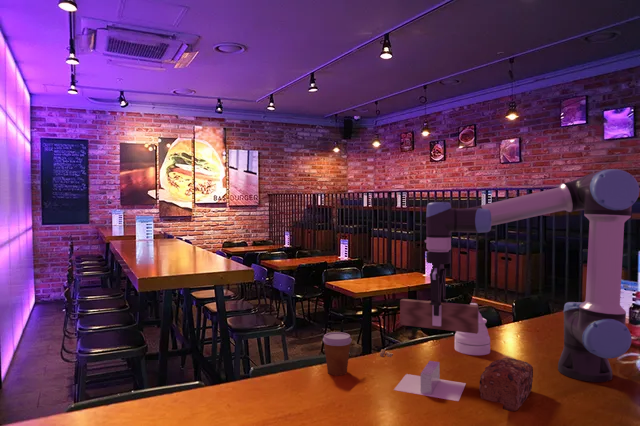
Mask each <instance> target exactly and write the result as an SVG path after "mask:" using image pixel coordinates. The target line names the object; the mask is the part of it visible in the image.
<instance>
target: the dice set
mask: <svg viewBox="0 0 640 426" xmlns="http://www.w3.org/2000/svg"><path fill="white" fill-rule="evenodd" d="M385 355H386V357H388V358H393V355H394V353H392V352H389V351H387V352H386V349H381V350H380V352H379V357H385Z"/></svg>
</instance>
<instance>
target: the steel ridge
mask: <svg viewBox="0 0 640 426" xmlns="http://www.w3.org/2000/svg"><path fill="white" fill-rule="evenodd" d="M440 365H441V363H440V361H434V360H429V361H428V363H427V364H426V365H425V366H424V367H423V369H422V371H421V372H420V376H421V393H423V394H429V395H432V393H433V391H434V389H435V388H436V386H437V384H438V382H439V381H440V379H441V378H440V375H441V372H440V371H441V370H440Z"/></svg>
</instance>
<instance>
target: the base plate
mask: <svg viewBox="0 0 640 426" xmlns="http://www.w3.org/2000/svg"><path fill="white" fill-rule="evenodd" d="M466 384H467V383H466V382H460V381H453V380H447V379H441V378H440V381H439V382H438V384H437V386H436V388H435V389H434V391H433V393H432V395H429V394H423V393H421V375H416V374H410V373H409V374H408V373H406V374H405V375H404V376H403V377H402V379H401V380H400V381H399V382H398V384H397V385H396V386H395V387H394V389H393V391H398V392H402V393H408V394H415V395H421V396H427V397H431V398H436V399H438V398H439V399H442V400H443V399H444V400H447V401H455V402H459V401H460V399H461V397H462V394H463V392H464V389H465V387H466Z"/></svg>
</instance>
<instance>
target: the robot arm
mask: <svg viewBox="0 0 640 426" xmlns="http://www.w3.org/2000/svg"><path fill="white" fill-rule="evenodd" d="M639 196H640V185H639V182H638V181H637V179H636V178H635V177H634V176H633V175H632V174H631V173H629V172H627V171H626V170H623V169H617V168H615V169H614V168H612V169H611V168H610V169H603V170H600V171H597V172H593V173H589V174H586V175H584V176H581V177H579V178H577V179H574V180H570V181H566V182H562V183H560V184H559V186H558V187H555V188H551V189H546V190H543V191H542V190H541V191H537V192H533V193H529V194H524V195H519V196H516V197H513V198H512V197H511V198H507V199H503V200H498V201H494V202H489V203H485V204H481V205H477V206H472V207H468V208H455V207H454V208H453V207H452V205H451V202H448V201H447V202H446V201H445V202H443V201H441V202H440V201H439V202H438V201H437V202H436V201H434V202H433V201H432V202H429V203H427V205H426V214H425V215H426V216H425V218H426V219H425V221H426V225H425V226H426V229H425V230H426V235H425V236H426V239H424V243H425V244H426V250H427V251H426V252H425V253H426V255H425V256H426V257H425V258H426V259H425V260H426V263H427V264H432V268H431V269H430V274H429V279H430V280H429V281H430V301H431V303H430V305H432V326H442V305H441V302H445V303H448V302H447V297H446V286H447V285H446V282H447V281H446V280H447V279H446V277H447V269H446V268H445V265H449V264H451V262H452V261H451V260H452V258H451V257H452V256H451V251H450V250H452V245H451V244H452V243H451V242H452V238H451V237H452V236H451V235H452V234H451V233H477V234H480V233H489V232H491V229H492V226H497V225H501V224H507V223H511V222H515V221H516V222H517V221H520V220H524V219H528V218H529V219H530V218H533V217H538V216H543V215H548V214H553V213H557V212H563V211H566V212H568V213H572V212H578V211H584V213H583V214H584V215H583V216H584V217H585V218H587V220H588V221H589V225H588V226H589V227H588V244H587V245H588V246H587V248H588V249H587V267H586V269H587V270H586V287H585V299H584V300H585V301H583V302H580V301H578V302H577V301H576V302H575V301H568V302H566V303H564V306H563V310H562V312H563V350H562V351H561V353H560V354H561V355H560V358H559V360H558V363H557V370H558V372H559V373H560V374H562V375H564V376H565V377H569V378H571V379H574V380H577V381H578V380H579V381H583V382H590V383H591V382H592V383H604V382H609V381H612V379H613V370H612V367H611V364H610V361H609V359H615V358H616V359H617V358H619V357H621V356H623V355H624V354H626V352H627V351H629V349H630V347H631V345H632V334H631V332H630V330H629V328H628V327H627V325H626V322H627V321H626V320H627V319H626V318H627V311H626V310H625V309H624V308H623V307H622V306H621V295H622V294H621V290H622V275H623V273H622V272H623V254H624V233H625V231H624V230H625V223H626V222H627V221H628V220H629V219H630V218H631V217H632V206H633V205H634V204H635V203H636V201H637V200H638V198H639Z"/></svg>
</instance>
